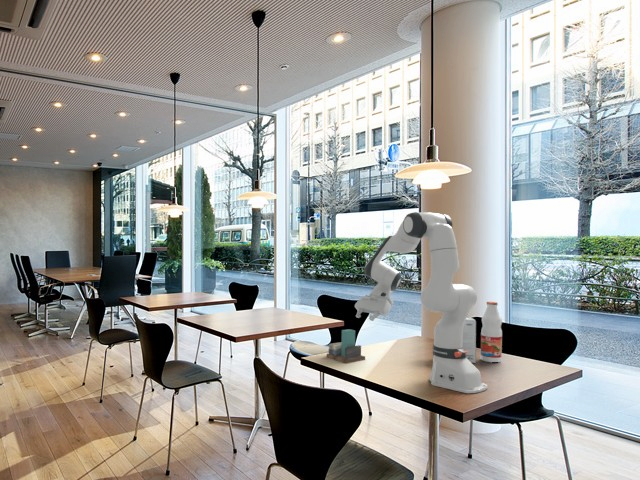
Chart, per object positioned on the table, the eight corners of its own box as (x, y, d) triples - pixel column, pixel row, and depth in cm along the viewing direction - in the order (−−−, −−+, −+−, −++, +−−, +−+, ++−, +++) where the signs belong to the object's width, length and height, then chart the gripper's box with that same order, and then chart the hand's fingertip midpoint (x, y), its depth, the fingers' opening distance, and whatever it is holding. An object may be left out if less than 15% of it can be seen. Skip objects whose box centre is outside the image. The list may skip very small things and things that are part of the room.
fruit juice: (504, 360, 220) (506, 302, 220) (496, 364, 213) (497, 303, 213) (486, 357, 226) (487, 300, 227) (477, 360, 220) (478, 301, 220)
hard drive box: (472, 359, 221) (473, 318, 221) (476, 363, 214) (476, 320, 214) (439, 357, 223) (440, 316, 223) (442, 361, 215) (442, 319, 215)
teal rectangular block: (354, 356, 217) (355, 330, 217) (346, 357, 214) (347, 331, 214) (349, 354, 220) (349, 329, 220) (341, 355, 217) (341, 330, 217)
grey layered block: (365, 359, 216) (365, 345, 216) (345, 363, 209) (346, 349, 209) (345, 353, 227) (345, 340, 227) (326, 357, 220) (326, 343, 220)
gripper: (361, 290, 236) (346, 311, 230) (390, 294, 220) (375, 317, 214) (367, 299, 239) (352, 319, 232) (396, 303, 223) (382, 325, 216)
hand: (363, 318), depth 223 cm, fingers open, 8 cm apart
